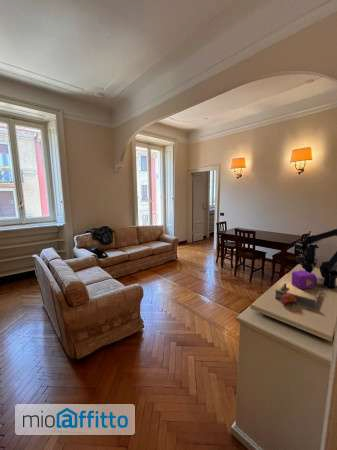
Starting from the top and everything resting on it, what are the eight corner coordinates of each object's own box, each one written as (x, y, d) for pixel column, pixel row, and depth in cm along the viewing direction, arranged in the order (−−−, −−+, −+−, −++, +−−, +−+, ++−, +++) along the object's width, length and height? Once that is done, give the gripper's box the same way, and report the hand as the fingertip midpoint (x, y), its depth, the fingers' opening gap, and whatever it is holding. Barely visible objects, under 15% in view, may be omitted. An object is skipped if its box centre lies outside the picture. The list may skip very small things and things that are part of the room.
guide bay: (284, 286, 134) (284, 279, 133) (320, 295, 121) (320, 287, 120) (275, 298, 120) (275, 290, 119) (314, 310, 107) (315, 301, 106)
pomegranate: (298, 312, 110) (292, 294, 116) (300, 306, 105) (294, 288, 111) (282, 312, 112) (278, 294, 118) (284, 306, 107) (279, 288, 113)
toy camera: (320, 287, 131) (321, 272, 129) (303, 291, 127) (304, 276, 125) (304, 281, 141) (305, 267, 139) (289, 284, 137) (289, 270, 136)
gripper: (300, 248, 154) (299, 268, 156) (293, 254, 141) (292, 275, 143) (318, 250, 146) (316, 271, 149) (313, 257, 133) (311, 279, 136)
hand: (309, 274), depth 144 cm, fingers open, 9 cm apart
